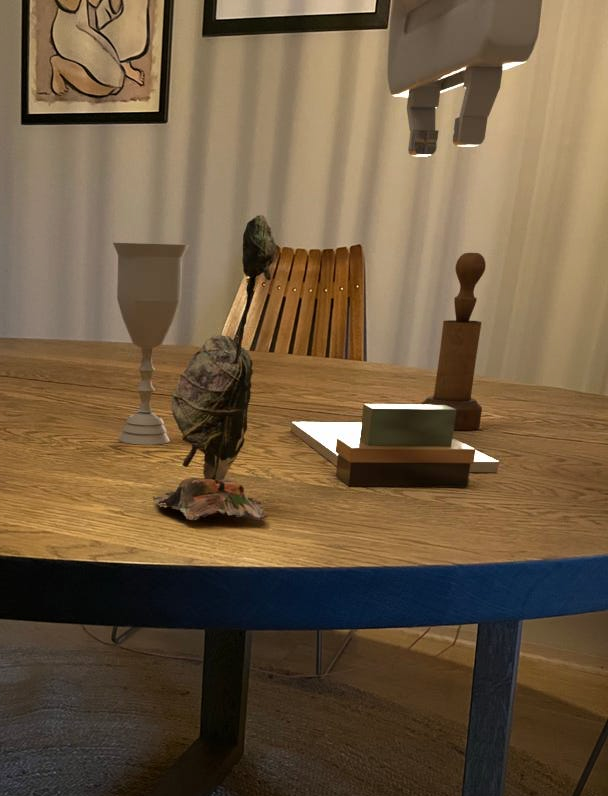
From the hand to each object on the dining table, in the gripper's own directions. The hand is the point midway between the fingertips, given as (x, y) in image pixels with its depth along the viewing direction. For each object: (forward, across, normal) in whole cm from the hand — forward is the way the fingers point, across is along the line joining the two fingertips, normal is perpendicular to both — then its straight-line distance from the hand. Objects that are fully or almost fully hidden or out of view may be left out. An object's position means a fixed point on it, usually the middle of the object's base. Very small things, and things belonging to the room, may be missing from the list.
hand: (443, 151), depth 77 cm
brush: (+25, 0, 0) cm, 25 cm away
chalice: (+25, +18, +20) cm, 37 cm away
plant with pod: (+25, -10, +18) cm, 33 cm away
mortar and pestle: (+25, +29, -15) cm, 41 cm away
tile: (+25, +14, -3) cm, 29 cm away
